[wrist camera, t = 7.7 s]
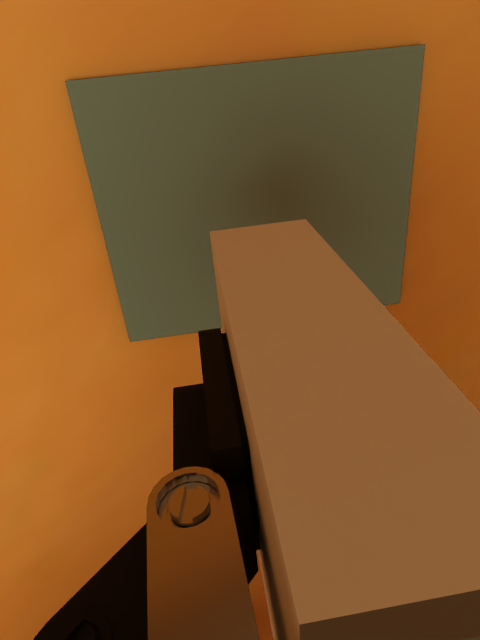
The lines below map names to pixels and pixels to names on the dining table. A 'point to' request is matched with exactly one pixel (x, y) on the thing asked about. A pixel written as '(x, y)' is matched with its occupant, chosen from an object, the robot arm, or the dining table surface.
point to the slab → (348, 448)
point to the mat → (248, 170)
